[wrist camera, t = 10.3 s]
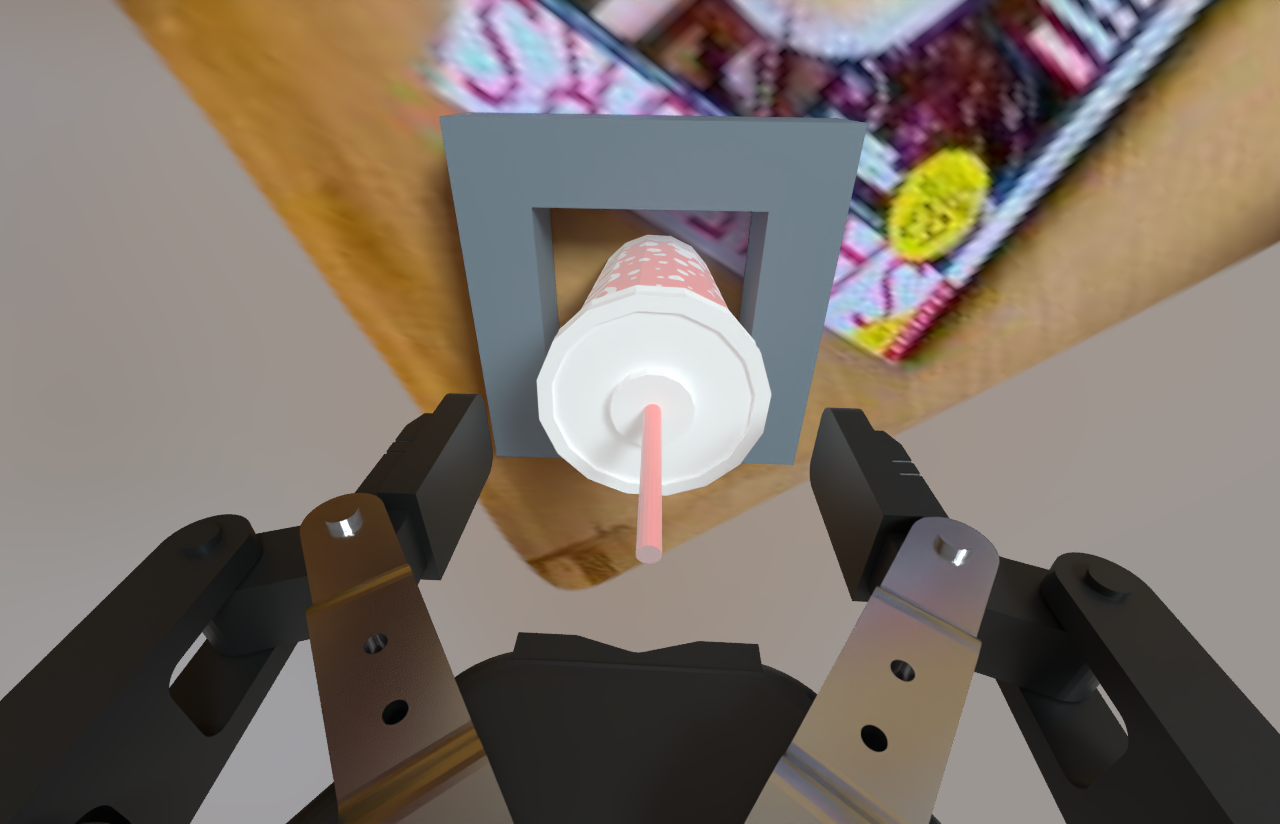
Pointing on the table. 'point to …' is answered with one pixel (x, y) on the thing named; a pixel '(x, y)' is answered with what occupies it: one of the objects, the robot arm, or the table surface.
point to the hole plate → (651, 180)
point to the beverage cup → (653, 381)
